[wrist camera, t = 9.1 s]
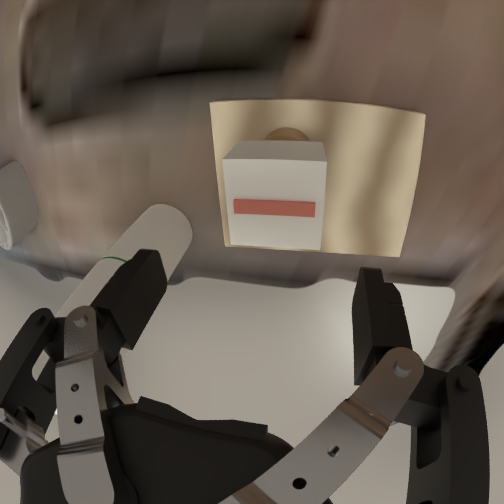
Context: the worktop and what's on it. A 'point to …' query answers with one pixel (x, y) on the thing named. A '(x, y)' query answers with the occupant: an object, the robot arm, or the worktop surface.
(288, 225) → the white minus sign cube
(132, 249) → the cylindrical container
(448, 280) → the worktop surface
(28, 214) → the lumpy-topped squat cylinder
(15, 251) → the worktop surface
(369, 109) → the board
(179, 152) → the worktop surface
